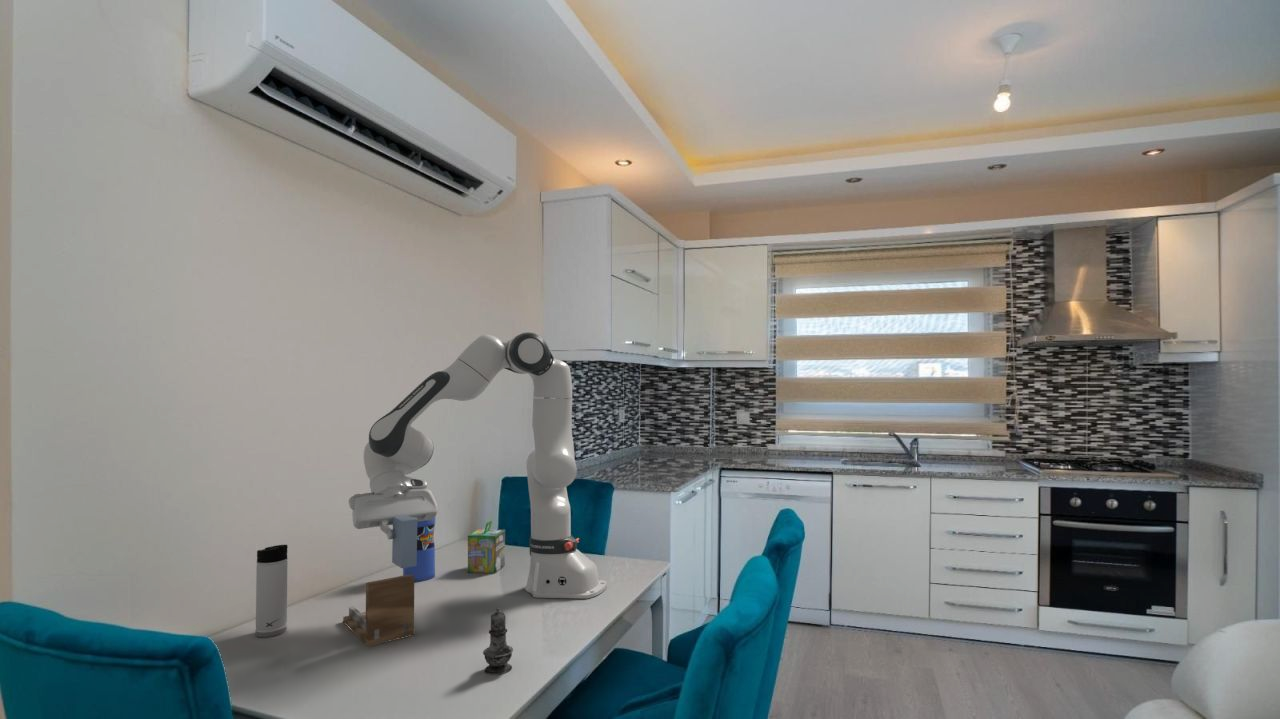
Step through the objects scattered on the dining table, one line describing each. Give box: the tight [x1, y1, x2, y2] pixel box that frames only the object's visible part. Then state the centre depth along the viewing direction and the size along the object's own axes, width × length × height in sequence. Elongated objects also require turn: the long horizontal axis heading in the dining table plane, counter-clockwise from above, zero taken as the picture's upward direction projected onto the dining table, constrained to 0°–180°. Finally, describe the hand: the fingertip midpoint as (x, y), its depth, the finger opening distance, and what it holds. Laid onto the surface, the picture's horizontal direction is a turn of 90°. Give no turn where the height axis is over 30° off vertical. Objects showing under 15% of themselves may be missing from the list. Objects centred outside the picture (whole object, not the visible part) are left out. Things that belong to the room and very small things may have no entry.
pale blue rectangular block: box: [391, 515, 417, 569], centre depth 156 cm, size 7×4×11 cm, turn 39°
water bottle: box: [402, 517, 436, 583], centre depth 192 cm, size 9×9×25 cm
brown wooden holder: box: [342, 574, 415, 647], centre depth 150 cm, size 20×10×13 cm, turn 39°
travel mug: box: [255, 544, 289, 638], centre depth 149 cm, size 6×7×20 cm
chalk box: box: [467, 519, 506, 574], centre depth 200 cm, size 9×9×15 cm
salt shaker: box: [482, 607, 514, 676], centre depth 127 cm, size 6×6×12 cm
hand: (402, 536), depth 157 cm, fingers closed on pale blue rectangular block, 3 cm apart
